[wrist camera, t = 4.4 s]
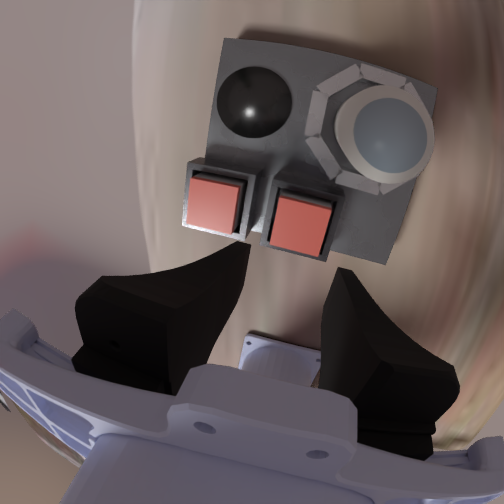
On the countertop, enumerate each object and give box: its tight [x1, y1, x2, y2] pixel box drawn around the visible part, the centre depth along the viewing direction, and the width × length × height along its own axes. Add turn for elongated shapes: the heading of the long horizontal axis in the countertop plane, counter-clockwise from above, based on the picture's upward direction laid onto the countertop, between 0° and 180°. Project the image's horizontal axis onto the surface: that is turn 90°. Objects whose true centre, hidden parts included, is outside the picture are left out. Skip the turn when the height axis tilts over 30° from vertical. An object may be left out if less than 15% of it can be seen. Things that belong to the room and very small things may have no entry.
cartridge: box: [333, 85, 435, 184], centre depth 13 cm, size 4×4×7 cm
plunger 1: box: [186, 171, 248, 235], centre depth 19 cm, size 3×3×2 cm
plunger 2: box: [269, 189, 332, 257], centre depth 18 cm, size 3×3×2 cm
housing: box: [182, 38, 438, 265], centre depth 18 cm, size 13×14×4 cm
